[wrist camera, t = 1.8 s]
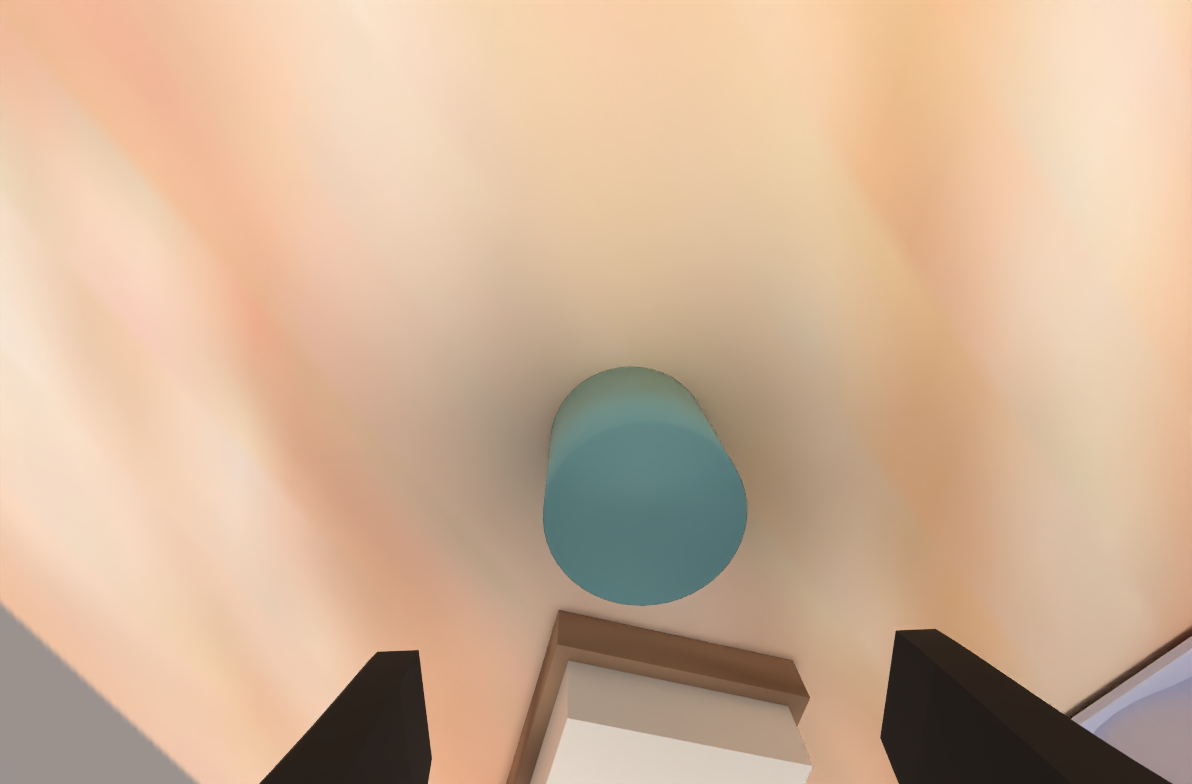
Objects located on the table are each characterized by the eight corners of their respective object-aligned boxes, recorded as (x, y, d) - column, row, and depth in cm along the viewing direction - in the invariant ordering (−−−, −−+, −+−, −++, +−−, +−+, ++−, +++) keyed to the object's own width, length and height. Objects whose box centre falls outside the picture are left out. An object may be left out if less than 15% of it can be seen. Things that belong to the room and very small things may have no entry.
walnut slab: (559, 599, 21) (557, 644, 19) (787, 649, 22) (809, 697, 20) (503, 784, 23) (496, 842, 21) (713, 823, 24) (726, 883, 22)
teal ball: (631, 333, 18) (650, 379, 14) (739, 441, 19) (788, 516, 15) (518, 442, 19) (500, 519, 14) (626, 540, 20) (641, 639, 15)
